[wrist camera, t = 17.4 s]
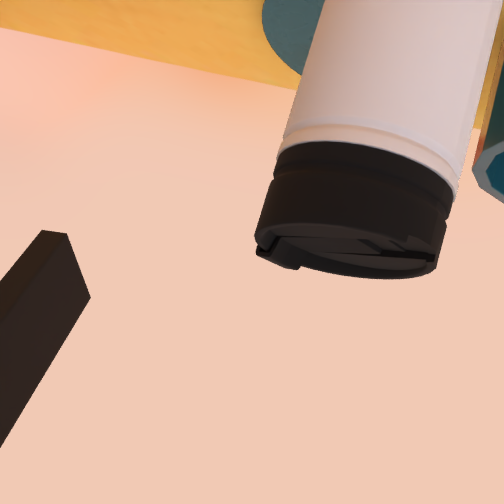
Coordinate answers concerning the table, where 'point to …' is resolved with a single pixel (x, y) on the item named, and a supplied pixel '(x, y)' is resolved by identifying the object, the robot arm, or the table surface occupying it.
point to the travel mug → (378, 137)
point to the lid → (291, 28)
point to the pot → (492, 138)
